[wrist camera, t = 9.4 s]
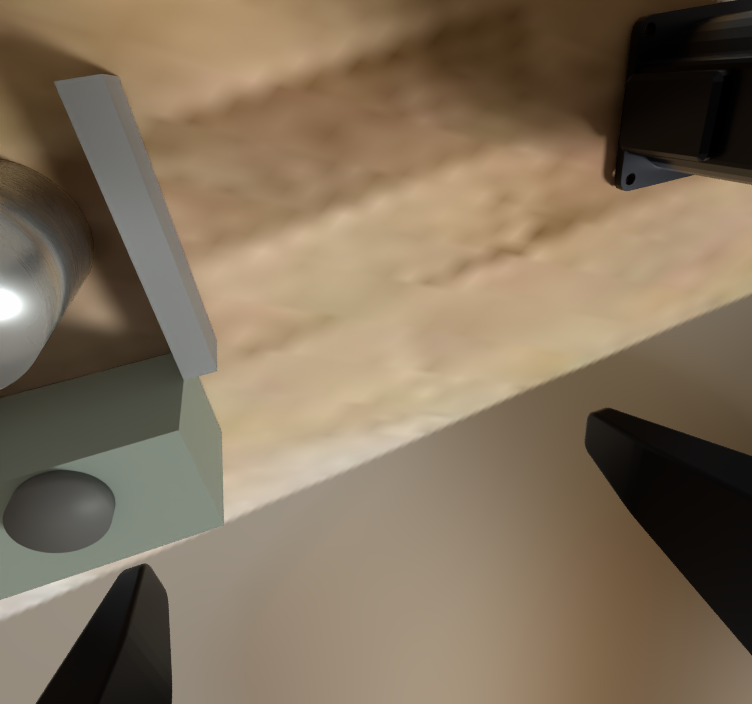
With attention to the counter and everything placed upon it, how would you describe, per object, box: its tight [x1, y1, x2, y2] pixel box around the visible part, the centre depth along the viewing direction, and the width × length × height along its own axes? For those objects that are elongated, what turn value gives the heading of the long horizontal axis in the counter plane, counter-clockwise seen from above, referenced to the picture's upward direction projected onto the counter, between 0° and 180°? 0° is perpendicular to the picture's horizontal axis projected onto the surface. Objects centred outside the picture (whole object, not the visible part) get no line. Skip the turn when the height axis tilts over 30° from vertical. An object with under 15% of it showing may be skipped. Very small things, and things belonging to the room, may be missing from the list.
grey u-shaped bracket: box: [0, 74, 224, 600], centre depth 15 cm, size 10×14×6 cm
